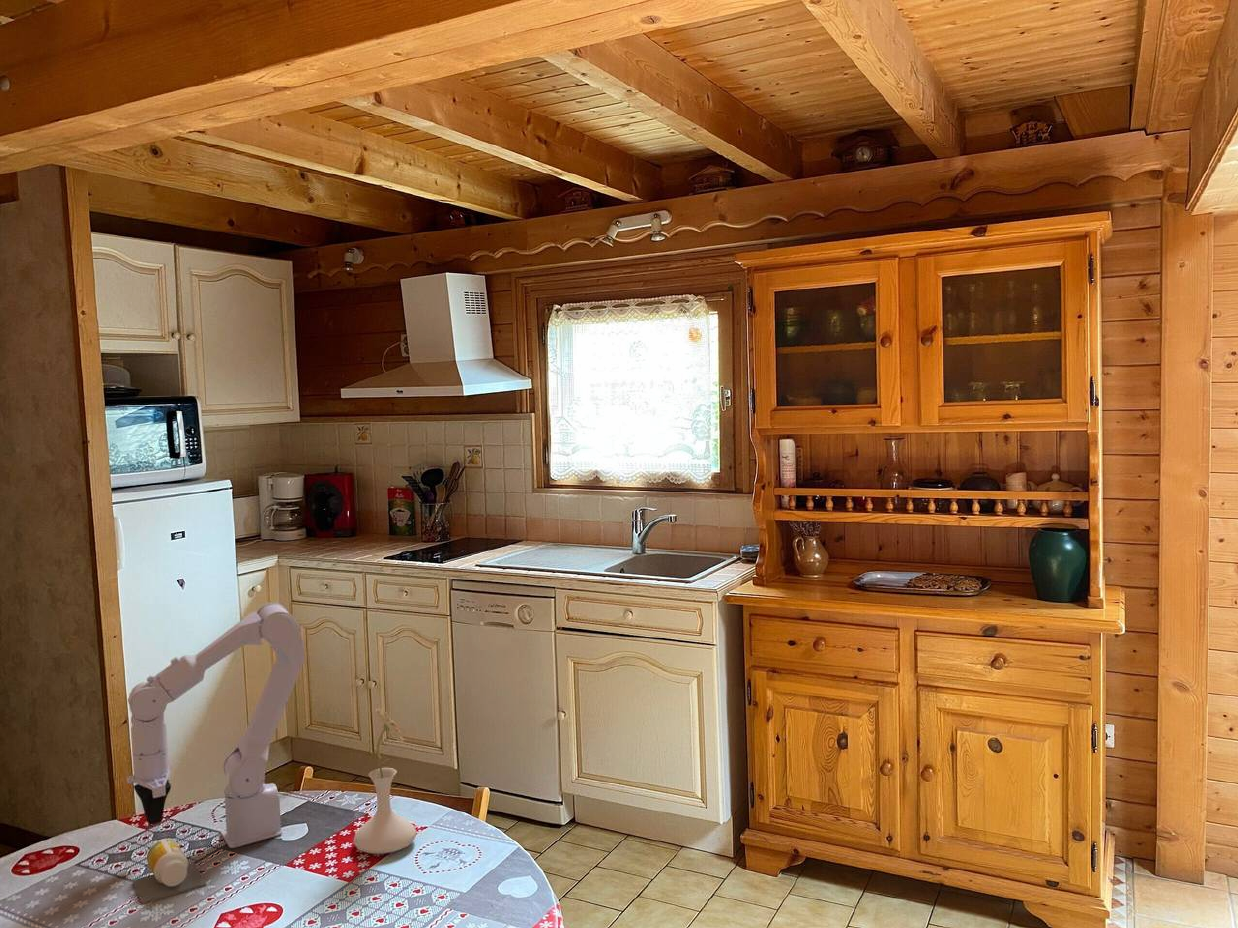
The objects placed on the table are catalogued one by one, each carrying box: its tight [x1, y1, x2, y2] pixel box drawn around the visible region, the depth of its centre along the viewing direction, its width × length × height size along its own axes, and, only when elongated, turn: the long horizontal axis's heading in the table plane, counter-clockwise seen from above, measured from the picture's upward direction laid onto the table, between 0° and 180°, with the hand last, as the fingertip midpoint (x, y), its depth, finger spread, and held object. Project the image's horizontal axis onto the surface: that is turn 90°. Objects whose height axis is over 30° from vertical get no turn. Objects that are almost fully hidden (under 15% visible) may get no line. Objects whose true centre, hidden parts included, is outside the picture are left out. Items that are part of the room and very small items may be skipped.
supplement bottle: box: [146, 838, 189, 886], centre depth 167 cm, size 5×5×10 cm
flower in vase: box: [352, 707, 417, 855], centre depth 178 cm, size 13×11×25 cm
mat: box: [132, 862, 207, 905], centre depth 166 cm, size 10×9×1 cm
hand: (154, 822), depth 175 cm, fingers closed
